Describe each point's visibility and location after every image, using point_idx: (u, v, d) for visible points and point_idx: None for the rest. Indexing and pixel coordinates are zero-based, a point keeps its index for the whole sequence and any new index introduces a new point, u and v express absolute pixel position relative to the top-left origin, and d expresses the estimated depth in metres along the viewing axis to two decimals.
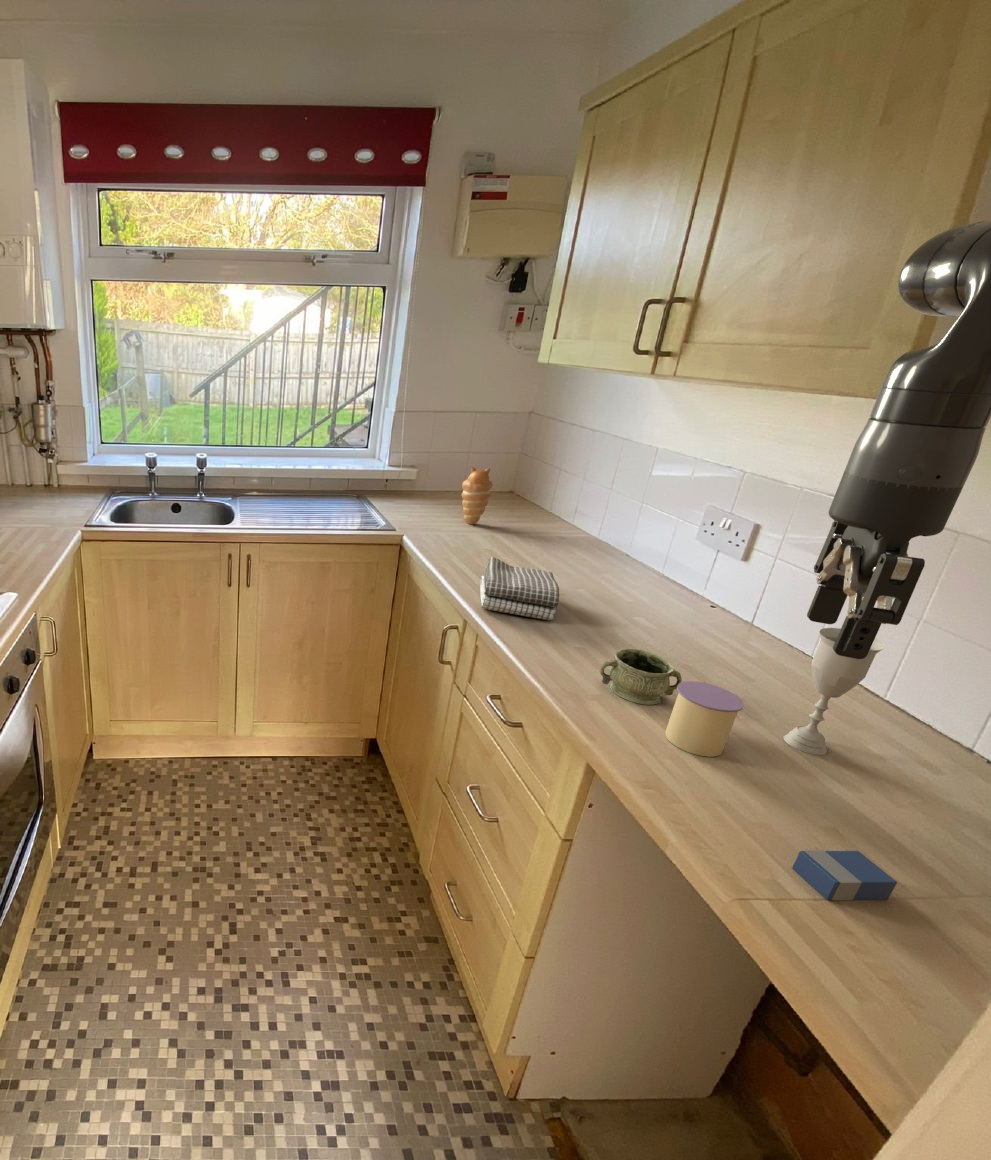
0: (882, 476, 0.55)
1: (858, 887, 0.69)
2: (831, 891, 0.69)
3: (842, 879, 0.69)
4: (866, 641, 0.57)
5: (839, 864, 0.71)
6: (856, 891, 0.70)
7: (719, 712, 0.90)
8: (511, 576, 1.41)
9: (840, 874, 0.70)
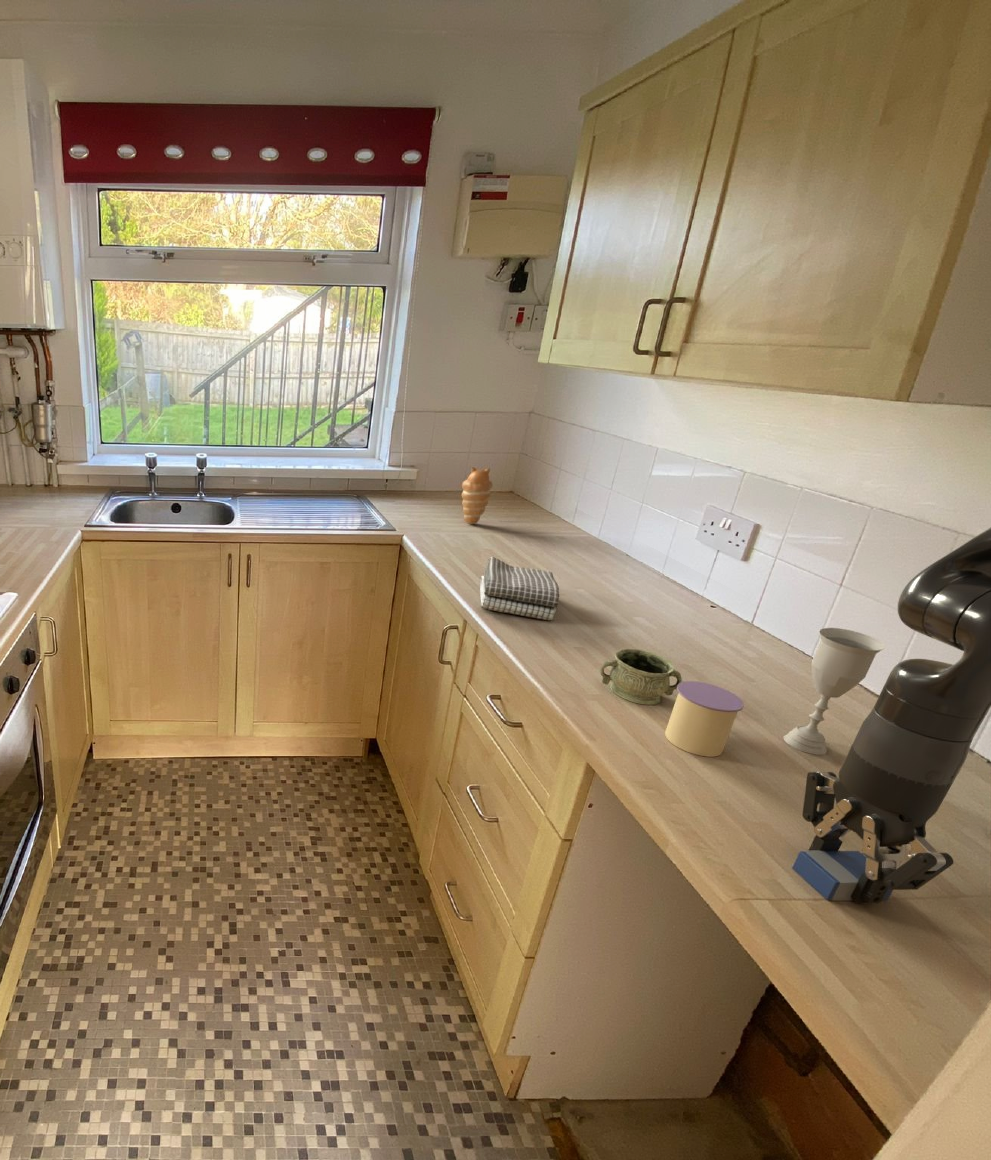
0: (912, 776, 0.63)
1: None
2: (831, 891, 0.69)
3: (842, 879, 0.69)
4: (882, 894, 0.68)
5: (839, 864, 0.71)
6: None
7: (719, 712, 0.90)
8: (511, 576, 1.41)
9: (840, 874, 0.70)
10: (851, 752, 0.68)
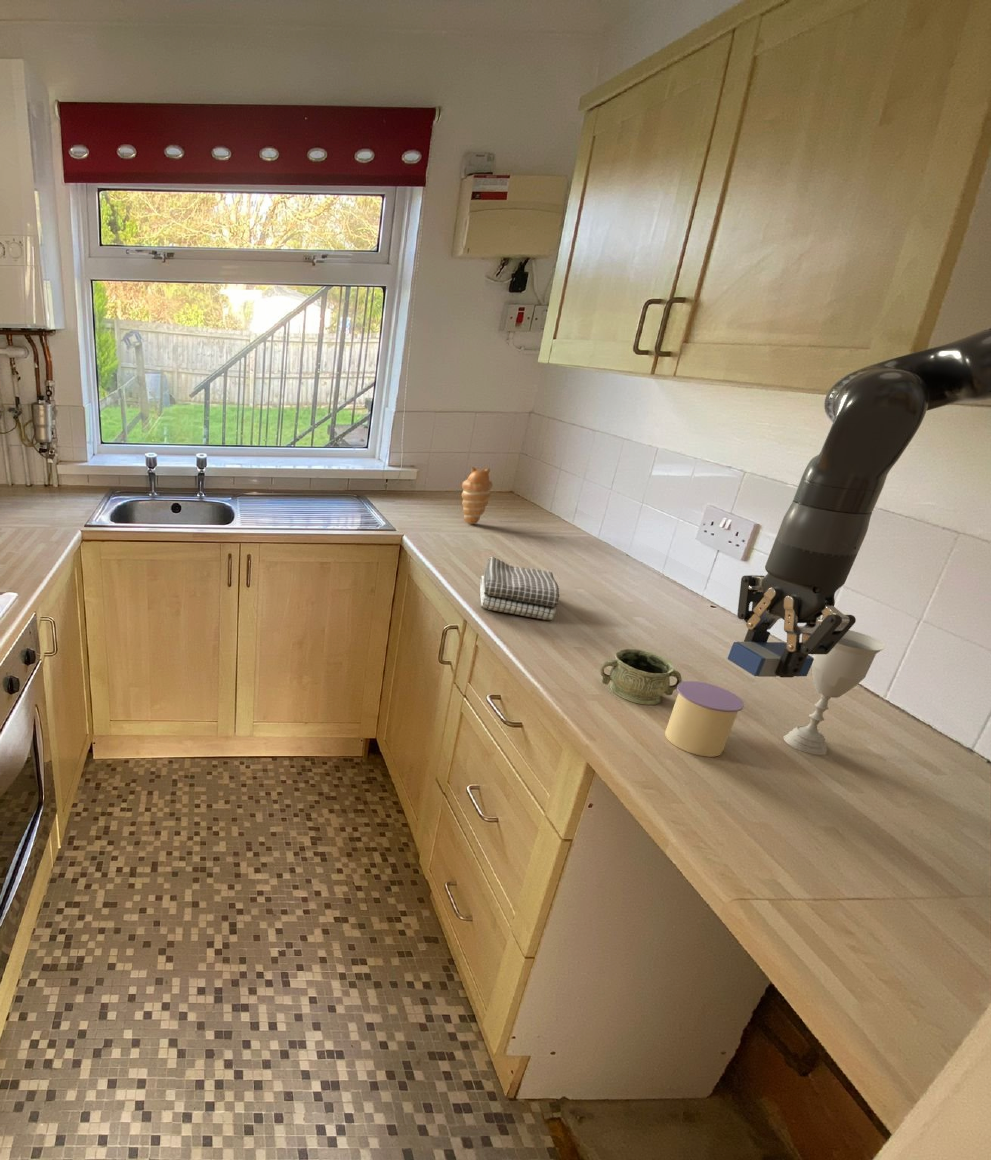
0: (822, 549, 0.74)
1: None
2: (758, 667, 0.80)
3: (767, 656, 0.80)
4: (800, 665, 0.79)
5: (766, 649, 0.82)
6: None
7: (719, 712, 0.90)
8: (511, 576, 1.41)
9: (766, 654, 0.81)
10: (774, 542, 0.79)
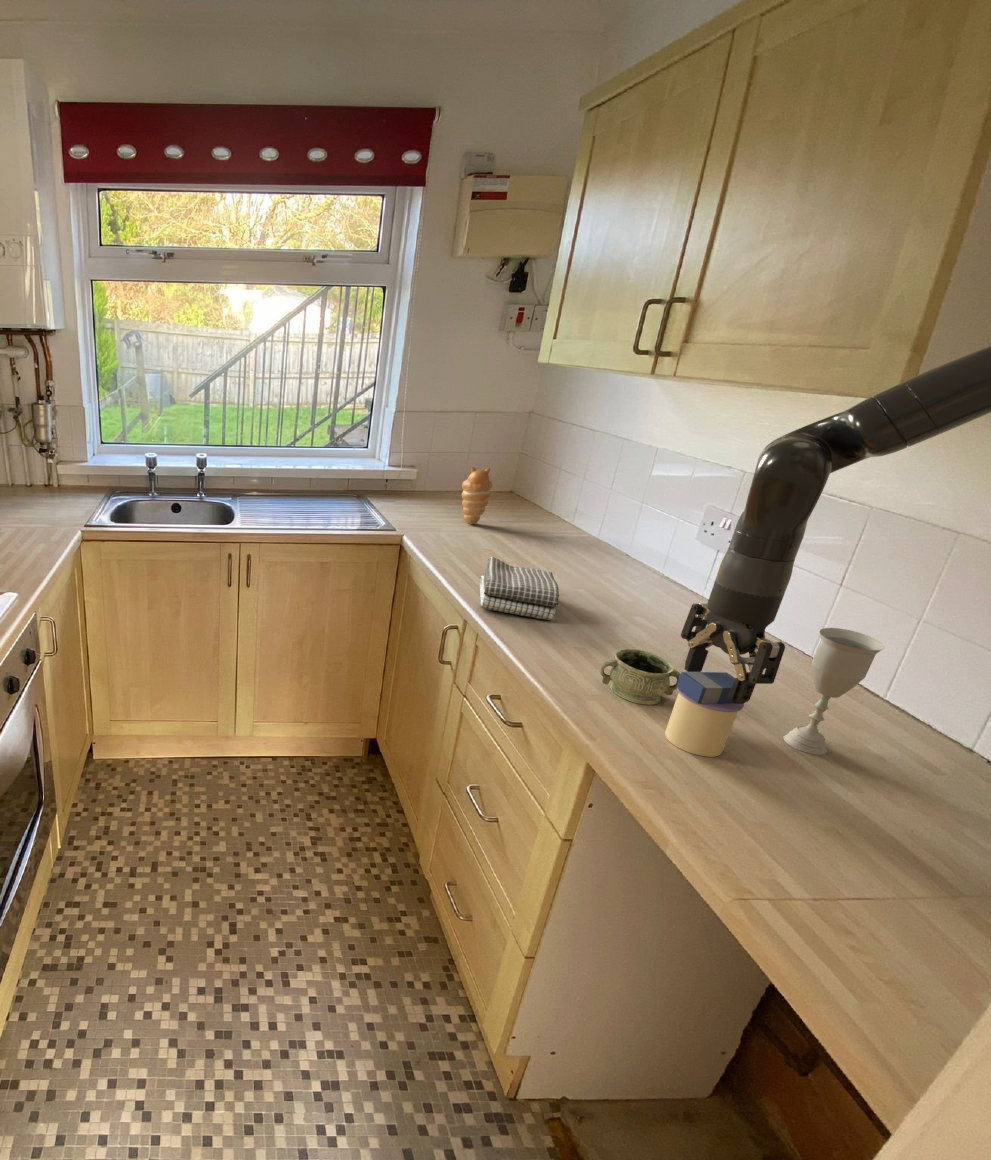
0: (752, 591, 0.84)
1: (721, 692, 0.91)
2: (700, 696, 0.91)
3: (708, 686, 0.91)
4: (750, 693, 0.87)
5: (709, 679, 0.93)
6: (719, 696, 0.91)
7: (719, 712, 0.90)
8: (511, 576, 1.41)
9: (707, 683, 0.91)
10: (714, 583, 0.89)
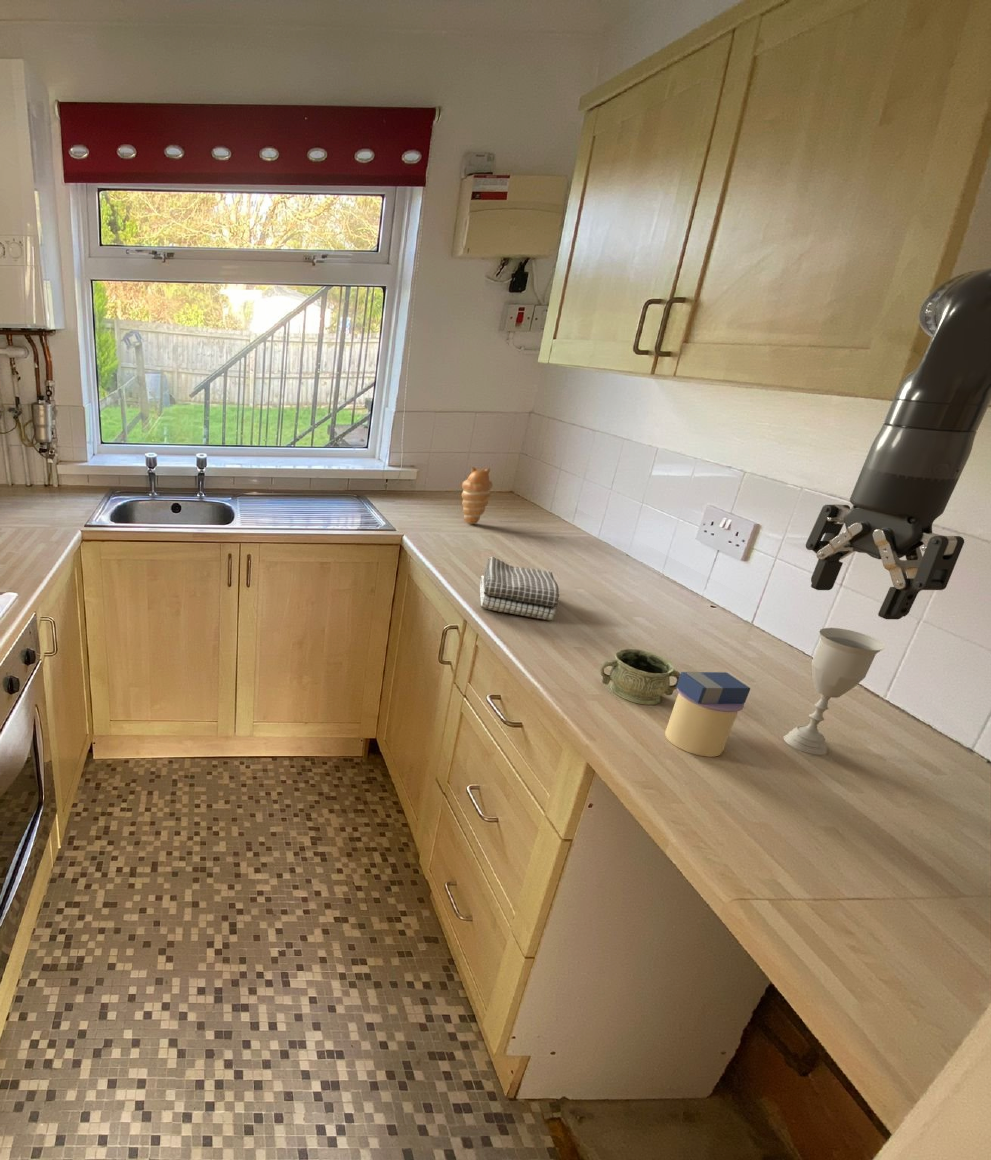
0: (920, 473, 0.67)
1: (721, 692, 0.91)
2: (700, 696, 0.91)
3: (708, 686, 0.91)
4: (909, 605, 0.70)
5: (709, 679, 0.93)
6: (719, 696, 0.91)
7: (719, 712, 0.90)
8: (511, 576, 1.41)
9: (707, 683, 0.91)
10: (862, 471, 0.72)
